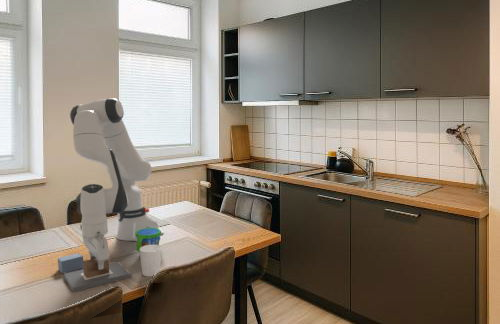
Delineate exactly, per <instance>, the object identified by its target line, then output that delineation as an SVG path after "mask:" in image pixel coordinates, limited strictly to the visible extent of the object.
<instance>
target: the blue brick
mask: <svg viewBox="0 0 500 324" xmlns="http://www.w3.org/2000/svg"><path fill="white" fill-rule="evenodd" d="M83 261H84V255H83V254H81V253H79V252H78V253H74V254H69V255H66V256H61V257H57V266H58V267H57V268H58V271H59V272H60V273H61V274H63V275H64V274H65V273H70V272H74V271H78V270H79V269H80V270H82V269H83Z"/></svg>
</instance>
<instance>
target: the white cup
mask: <svg viewBox="0 0 500 324" xmlns="http://www.w3.org/2000/svg"><path fill="white" fill-rule="evenodd" d="M161 255H162V247H161V246H160V244H159V245H145V246H143V247H141V248H140V252H139V258H140V267H141V275H143V276H145V277H154V276H153V275H154V274H155V273H157V272H158V271H160V272H161V263H162V262H161V259H162V258H161Z"/></svg>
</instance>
